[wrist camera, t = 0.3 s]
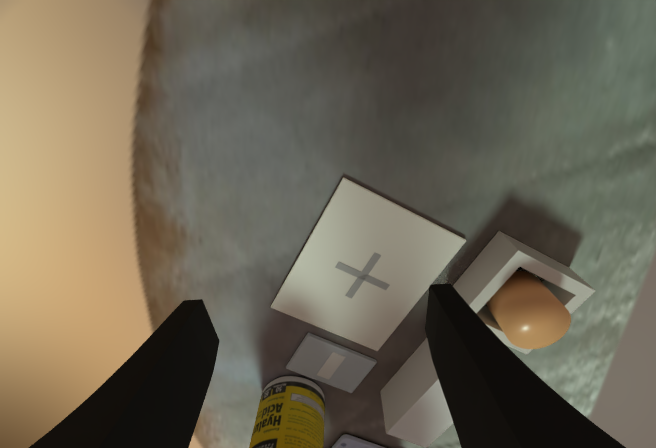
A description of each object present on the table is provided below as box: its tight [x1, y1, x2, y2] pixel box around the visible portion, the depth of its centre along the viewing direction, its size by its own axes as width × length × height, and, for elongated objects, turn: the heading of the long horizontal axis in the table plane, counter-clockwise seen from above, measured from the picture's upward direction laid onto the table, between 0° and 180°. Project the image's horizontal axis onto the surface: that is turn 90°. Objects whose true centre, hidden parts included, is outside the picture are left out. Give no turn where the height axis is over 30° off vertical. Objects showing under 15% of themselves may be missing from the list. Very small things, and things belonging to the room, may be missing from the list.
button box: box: [453, 231, 595, 354], centre depth 22 cm, size 6×6×2 cm
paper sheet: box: [270, 177, 466, 351], centre depth 23 cm, size 11×9×1 cm
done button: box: [486, 271, 571, 349], centre depth 21 cm, size 4×4×3 cm
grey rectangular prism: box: [380, 338, 453, 448], centre depth 25 cm, size 9×4×4 cm, turn 152°
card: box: [286, 333, 377, 393], centre depth 27 cm, size 4×6×1 cm, turn 63°
